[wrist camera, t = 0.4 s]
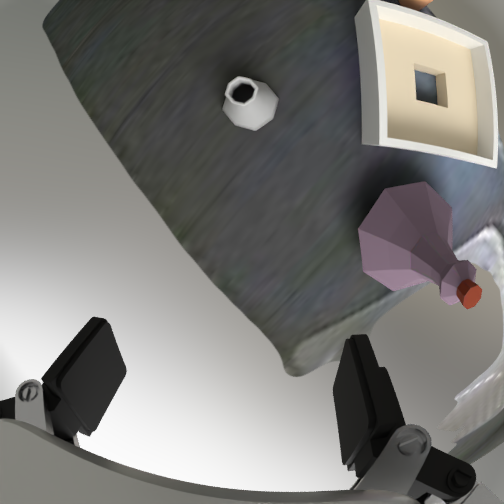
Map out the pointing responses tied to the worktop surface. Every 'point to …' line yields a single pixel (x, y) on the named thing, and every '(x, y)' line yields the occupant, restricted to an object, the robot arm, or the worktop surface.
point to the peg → (414, 4)
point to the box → (404, 90)
